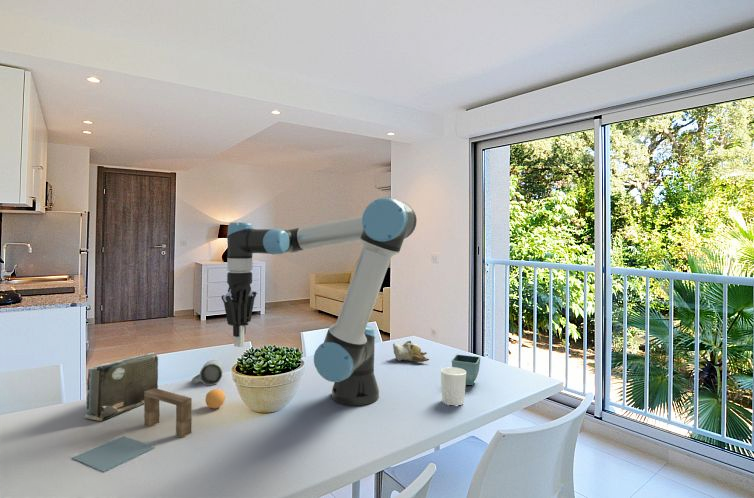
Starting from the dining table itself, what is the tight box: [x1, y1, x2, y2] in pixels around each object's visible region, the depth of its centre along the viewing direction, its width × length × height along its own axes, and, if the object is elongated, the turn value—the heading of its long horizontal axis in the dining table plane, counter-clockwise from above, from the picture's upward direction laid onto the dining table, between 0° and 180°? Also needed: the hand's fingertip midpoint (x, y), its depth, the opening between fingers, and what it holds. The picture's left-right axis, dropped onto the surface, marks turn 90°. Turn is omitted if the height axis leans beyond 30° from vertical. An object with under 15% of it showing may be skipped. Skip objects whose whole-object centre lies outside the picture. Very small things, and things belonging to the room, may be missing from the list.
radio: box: [83, 351, 159, 422], centre depth 127 cm, size 23×9×15 cm, turn 157°
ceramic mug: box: [191, 359, 224, 386], centre depth 148 cm, size 10×8×7 cm
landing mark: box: [71, 435, 155, 473], centre depth 100 cm, size 12×12×1 cm
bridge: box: [143, 388, 193, 439], centre depth 112 cm, size 3×14×9 cm, turn 63°
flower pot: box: [451, 354, 481, 386], centre depth 151 cm, size 9×9×9 cm
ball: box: [204, 388, 226, 410], centre depth 126 cm, size 6×6×6 cm
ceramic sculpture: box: [392, 340, 430, 363], centre depth 178 cm, size 11×9×15 cm
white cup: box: [440, 366, 466, 406], centre depth 134 cm, size 8×8×10 cm
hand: (239, 345), depth 134 cm, fingers closed
